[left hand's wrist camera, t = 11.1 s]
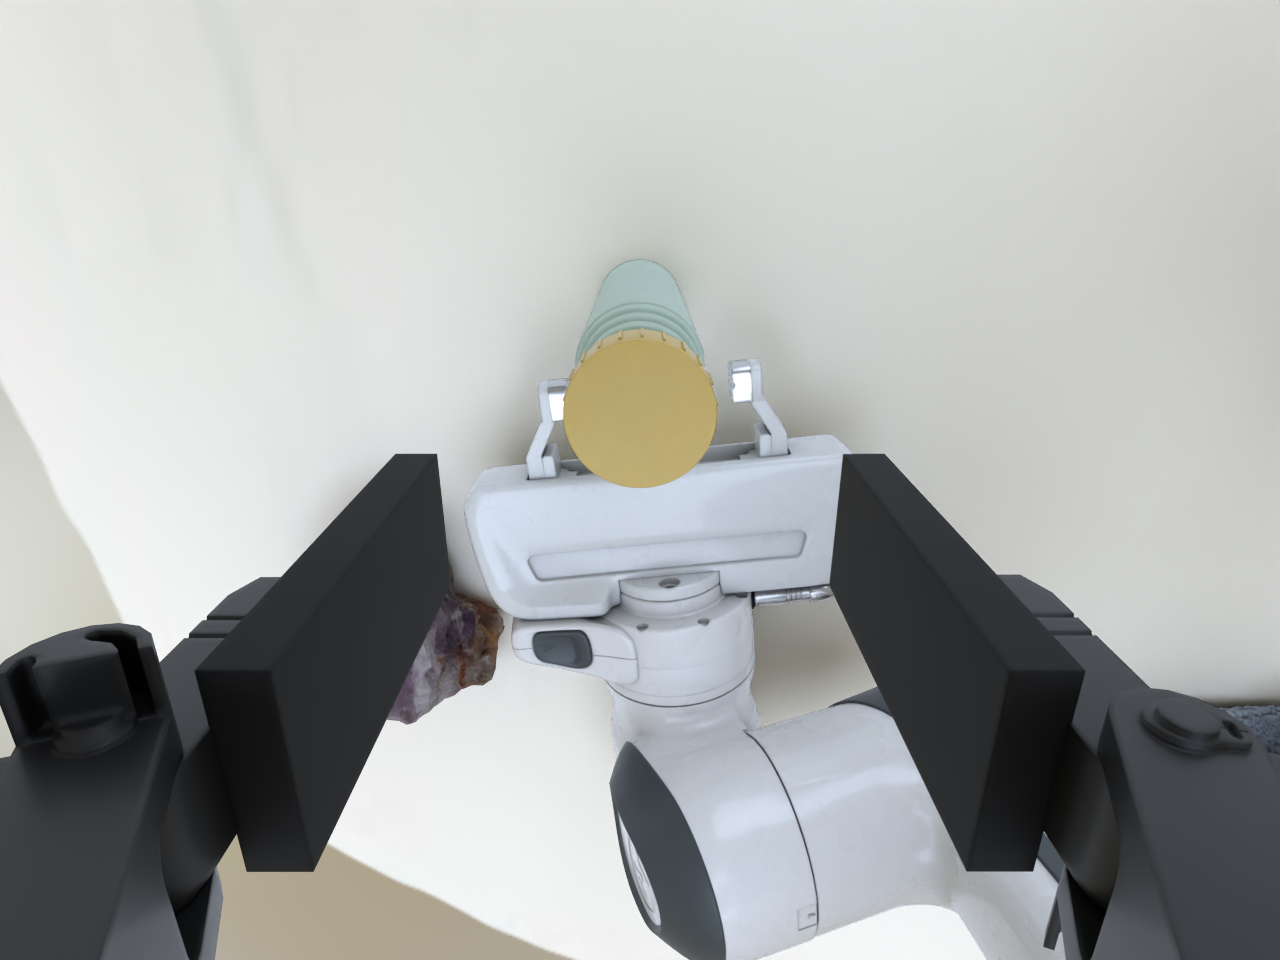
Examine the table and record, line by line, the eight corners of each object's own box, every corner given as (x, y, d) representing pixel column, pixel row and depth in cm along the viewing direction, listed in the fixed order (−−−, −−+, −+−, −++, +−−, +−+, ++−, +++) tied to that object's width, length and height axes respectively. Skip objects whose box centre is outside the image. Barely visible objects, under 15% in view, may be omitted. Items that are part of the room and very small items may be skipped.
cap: (616, 494, 23) (615, 516, 21) (537, 376, 22) (530, 390, 20) (739, 425, 22) (747, 442, 21) (666, 298, 21) (667, 306, 19)
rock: (458, 488, 46) (311, 535, 47) (414, 525, 38) (237, 581, 39) (521, 653, 49) (380, 695, 50) (493, 722, 40) (325, 771, 41)
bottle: (626, 357, 42) (613, 515, 22) (583, 287, 41) (526, 385, 20) (695, 316, 42) (750, 439, 21) (654, 243, 40) (669, 298, 20)
